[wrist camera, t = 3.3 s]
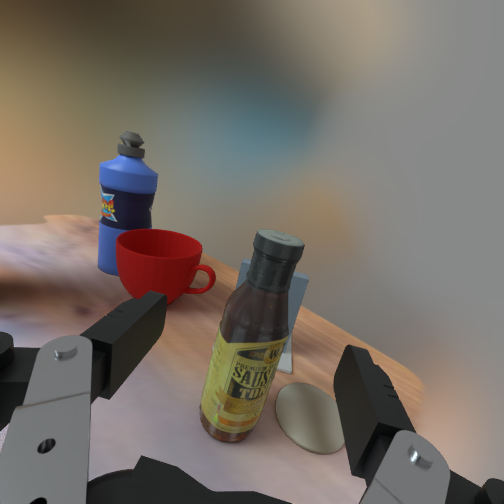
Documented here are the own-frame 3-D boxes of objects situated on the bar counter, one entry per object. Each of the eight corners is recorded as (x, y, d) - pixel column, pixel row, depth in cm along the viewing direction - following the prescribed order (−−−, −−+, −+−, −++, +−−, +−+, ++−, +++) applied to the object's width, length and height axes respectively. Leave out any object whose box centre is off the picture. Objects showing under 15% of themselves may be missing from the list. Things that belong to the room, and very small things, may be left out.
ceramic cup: (181, 342, 35) (191, 277, 32) (93, 296, 40) (94, 236, 37) (226, 304, 46) (237, 253, 43) (153, 271, 52) (158, 224, 48)
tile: (284, 353, 37) (308, 279, 33) (224, 336, 37) (241, 262, 34) (284, 345, 38) (308, 274, 35) (227, 329, 39) (244, 257, 35)
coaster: (298, 464, 24) (300, 460, 23) (264, 390, 30) (265, 387, 30) (361, 443, 27) (363, 440, 27) (317, 381, 34) (319, 378, 34)
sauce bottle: (214, 460, 22) (269, 251, 16) (188, 401, 27) (222, 221, 21) (271, 428, 26) (333, 250, 20) (240, 382, 31) (282, 225, 24)
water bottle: (137, 254, 58) (147, 136, 50) (156, 271, 52) (171, 141, 44) (90, 258, 51) (92, 123, 43) (106, 279, 45) (113, 127, 37)
